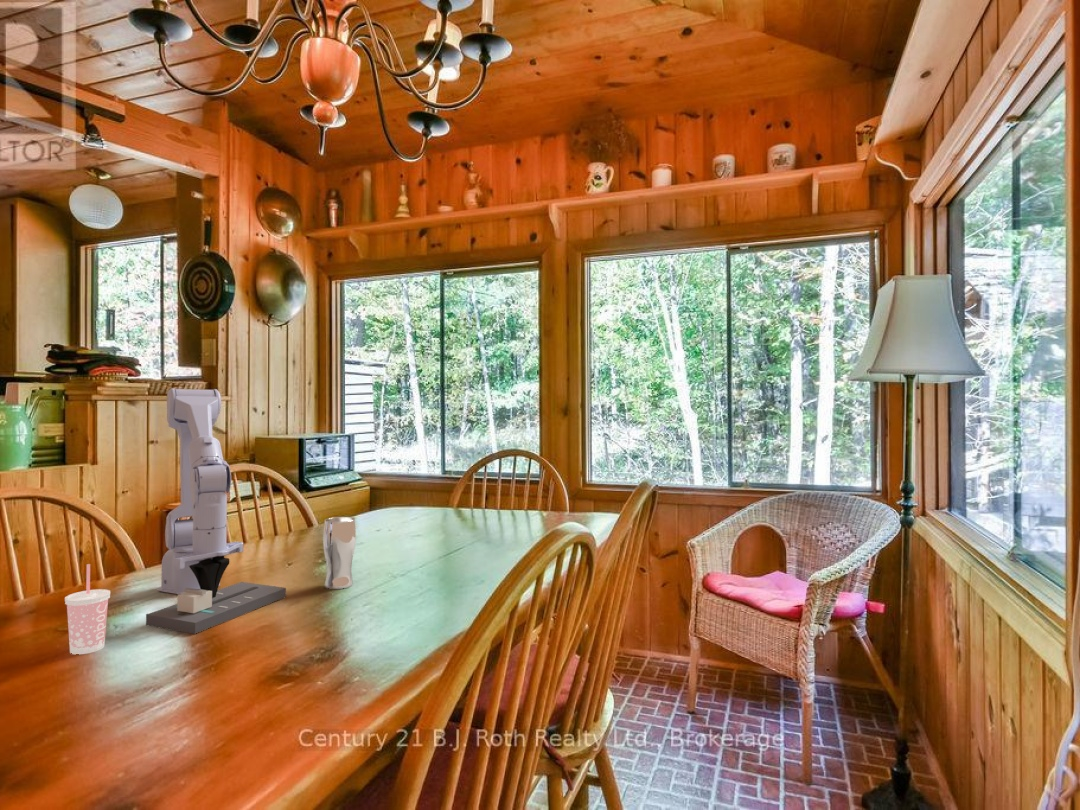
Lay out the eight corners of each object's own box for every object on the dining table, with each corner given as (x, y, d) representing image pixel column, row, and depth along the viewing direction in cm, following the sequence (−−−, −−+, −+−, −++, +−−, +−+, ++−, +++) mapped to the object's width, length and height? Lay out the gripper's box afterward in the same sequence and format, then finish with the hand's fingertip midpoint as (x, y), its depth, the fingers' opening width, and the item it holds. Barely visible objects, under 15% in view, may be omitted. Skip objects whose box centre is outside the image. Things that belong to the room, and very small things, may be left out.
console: (146, 625, 110) (146, 613, 110) (241, 590, 131) (241, 581, 131) (195, 634, 106) (195, 622, 106) (285, 597, 127) (285, 587, 127)
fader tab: (176, 610, 112) (176, 591, 112) (195, 604, 115) (195, 585, 115) (194, 613, 110) (194, 594, 110) (212, 606, 114) (212, 587, 114)
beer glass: (345, 591, 132) (345, 522, 132) (316, 588, 133) (317, 521, 133) (360, 582, 138) (361, 517, 138) (333, 580, 140) (334, 515, 140)
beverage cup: (80, 658, 95) (81, 571, 95) (54, 653, 98) (55, 567, 98) (118, 644, 101) (119, 561, 101) (94, 639, 103) (95, 558, 103)
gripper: (192, 536, 108) (191, 611, 108) (255, 521, 121) (254, 588, 121) (163, 533, 110) (162, 607, 110) (228, 519, 124) (227, 585, 124)
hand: (209, 597), depth 116 cm, fingers closed
